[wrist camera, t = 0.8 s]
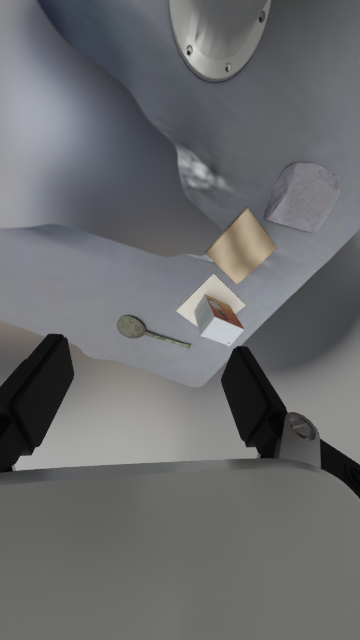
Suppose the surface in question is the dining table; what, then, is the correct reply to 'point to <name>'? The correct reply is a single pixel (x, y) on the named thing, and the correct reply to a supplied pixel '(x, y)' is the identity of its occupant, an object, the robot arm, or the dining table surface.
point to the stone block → (303, 197)
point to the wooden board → (241, 247)
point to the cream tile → (214, 290)
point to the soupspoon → (138, 330)
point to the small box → (217, 321)
